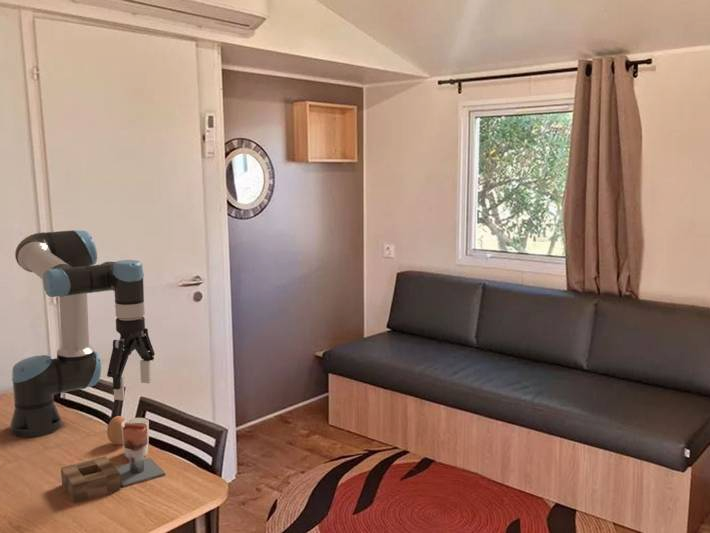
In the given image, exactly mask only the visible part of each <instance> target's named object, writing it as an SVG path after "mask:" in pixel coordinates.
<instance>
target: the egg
mask: <svg viewBox="0 0 710 533" xmlns="http://www.w3.org/2000/svg"><path fill="white" fill-rule="evenodd" d="M125 420H126V418H124V417H123V416H121V415H117V416H115V417H113V418H112V419H111V420H110V422H109V423H108V425H107V429H106V430H107V432H106V435H107V438H108V440H109V441H110V443H111V444H114V445H116V446H118V445H123V438H122V427H121V424H122V422H124V421H125Z"/></svg>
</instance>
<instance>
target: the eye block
mask: <svg viewBox="0 0 710 533" xmlns="http://www.w3.org/2000/svg"><path fill="white" fill-rule="evenodd" d="M115 467H116V466H115V465H114V464H113V462H111V461H110V460H109V458H108V457H107V455H105V456H102V457H97V458H94V459H89V460H86V461H82V462H78V463H73V464H71V465H70V464H69V465H67V466H66V465H65V466H63V467H60V473H61V474H60V475H61V485H62V487H63V489H64V490H65V492H66V493H67V494H68V496H69V498H70V499H71V501H72V503H73V504H75V503H79V502H82V501H86V500H90V499H93V498H97V497H101V496H104V495H106V494H110V493H113V492H114V493H115V492H118V491H120V490H121V484H120V472H119V471H118V470H117V469H116V468H115Z"/></svg>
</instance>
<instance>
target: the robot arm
mask: <svg viewBox="0 0 710 533" xmlns="http://www.w3.org/2000/svg"><path fill="white" fill-rule="evenodd" d="M14 253H15V255H14V256H15V258H14V259H15V261H16V263H17V265H18V266H19V267H20V268H21V269H23V270H24V271H26V272H28V273H34V274H35V275H36V276H38V277H39V278H40V279H42V284H43V290H44V291H45V294H46V295H47V297H50V298H57V297H58V298H59V299H58V300H59V318H60V319H59V321H60V325H59V326H60V341H61V342H60V343H61V344H60V345H61V347H60V348H59V349H58V350H56V357H55V358H52V356H50V355H47V354H43V355H33V356H29V357H26V358H24V359H22V360H21V359H20V360H19V361H18V362H17V363H15V364H14V365H13V366H12V375H11V381H12V386H13V387H12V389H13V399H14V411H13V414H12V417H11V422H10V424H9V425H10V426H9V427H10V428H9V429H10V430H9V431H10V434H11V435H13V436H14V437H19V438H34V437H35V438H36V437H41V436H44V435H47V434H50V433H53V432H55V431H57V430H59V429H60V427H62V418H61V415H60V412H59V411H58V408H57V406H56V404H55V395H57V394H63V393H66V392H67V393H68V392H73V391H77V390H84V389H86V388H89V387H93V386H96V384H98V382H99V381H100V378H101V374H102V362H101V357H100V354H99V353H98V352H97V351H95V348H94V347H93V346H91V345H90V337H89V336H90V332H89V311H88V294H91V293H101V292H107V291H109V292H110V291H113V292H114V303H115V304H114V307H115V317H116V319H115V330H116V333H118V334H120V337H119V339H113V341H112V349H111V350H112V351H111V354H110V355H111V356H110V358H109V365H108V368H107V374H106V376H107V378H112V387H113V388H112V389H113V399H114V401H115V400H117V401H125V400H126V398H125V381H124V380H125V377H124V376H123V373H124V370H125V367H126V365H127V361H128V359H129V356H130V355H132V352H134V351H136V352H137V354H138V355H139V357H140V358H141V360H140V361H139V365H140V366H139V367H140V368H139V370H140V383H142V384H152V380H151V379H152V378H151V361H154V360H155V357H154V356H155V351H154V349H153V345H152V343H151V342H152V341H151V339H150V337H149V336H150V335H149V330H148V328H146V320H145V319H146V318H145V317H144V316H145V313H146V312H145V299H144V298H145V296H144V275H145V274H144V269H143V263H142V261H140V260H138V259H137V260H134V259H125V260H124V259H121V260H118V261H109V260H108V261H104V262H102V263H100V264H96V263H97V261H98V252H97V246H96V243H95V240H94V239H93V236H92V235H91V234H90V233H89V232H88V231H86V230H78V229H77V230H75V229H74V230H61V231H48V232H44V231H43V232H37V233H33V234H30V235H28V236H26V237H24V239H22V240H21V241H19V243H18V245H17V247H16V249H15V251H14Z"/></svg>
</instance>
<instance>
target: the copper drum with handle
mask: <svg viewBox="0 0 710 533" xmlns="http://www.w3.org/2000/svg"><path fill="white" fill-rule="evenodd" d="M123 438H124V446H123V448H124V447H125V448H127V449H129V458H128V463H129V467H130V473H132V474H138V473H142V472H143V471H144V459H145V456H144V448H143V447H144V446H146V445H147V444H148V442H149V441H148V439H147V425H146V424H144V423H132V424H131V423H126V424H124V428H123ZM148 445H149V444H148Z"/></svg>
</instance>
